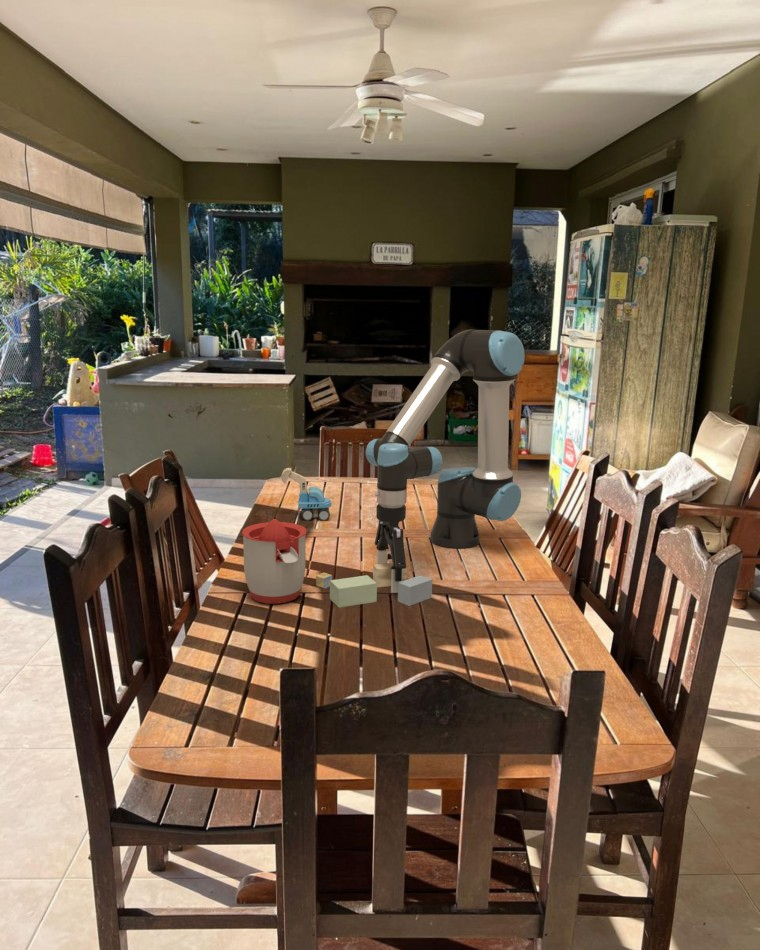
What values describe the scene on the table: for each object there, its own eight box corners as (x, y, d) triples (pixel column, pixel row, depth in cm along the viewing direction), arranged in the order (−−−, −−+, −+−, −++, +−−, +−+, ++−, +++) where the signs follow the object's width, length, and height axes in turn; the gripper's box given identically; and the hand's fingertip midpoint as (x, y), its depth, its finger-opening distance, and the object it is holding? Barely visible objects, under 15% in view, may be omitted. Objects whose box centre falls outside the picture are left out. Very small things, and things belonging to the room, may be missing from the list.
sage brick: (366, 593, 191) (367, 575, 190) (376, 602, 186) (376, 583, 185) (329, 599, 187) (329, 580, 186) (338, 608, 182) (338, 588, 181)
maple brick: (401, 579, 201) (402, 562, 200) (406, 585, 197) (406, 567, 196) (372, 582, 199) (373, 564, 198) (376, 587, 195) (377, 569, 194)
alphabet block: (324, 589, 193) (324, 578, 193) (315, 586, 195) (315, 574, 195) (332, 586, 195) (332, 575, 195) (324, 582, 198) (324, 571, 197)
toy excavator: (282, 514, 260) (281, 465, 256) (331, 514, 261) (331, 465, 257) (281, 521, 251) (280, 471, 248) (331, 521, 253) (331, 471, 249)
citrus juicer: (261, 616, 176) (260, 533, 171) (233, 591, 190) (231, 515, 186) (321, 603, 184) (321, 524, 180) (290, 580, 198) (289, 507, 194)
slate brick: (419, 593, 192) (420, 575, 191) (431, 598, 189) (432, 579, 188) (397, 601, 186) (398, 582, 185) (409, 606, 184) (409, 587, 182)
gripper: (364, 493, 204) (363, 567, 209) (391, 518, 181) (388, 601, 185) (391, 492, 206) (389, 565, 211) (421, 516, 183) (417, 599, 187)
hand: (388, 582), depth 198 cm, fingers open, 13 cm apart
